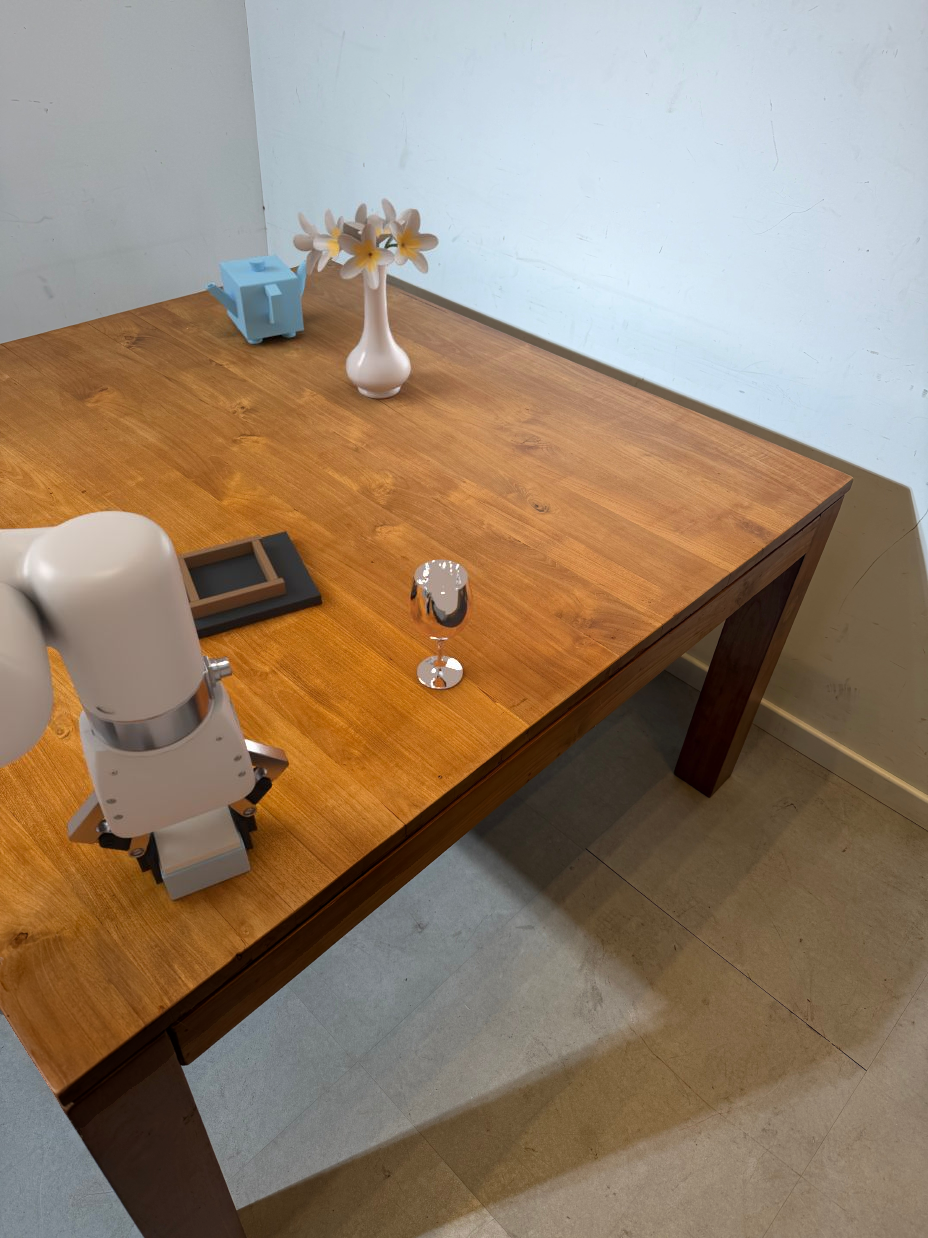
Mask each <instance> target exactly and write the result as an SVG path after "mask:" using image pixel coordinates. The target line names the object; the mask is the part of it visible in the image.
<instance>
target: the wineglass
mask: <svg viewBox="0 0 928 1238" xmlns="http://www.w3.org/2000/svg"><path fill="white" fill-rule="evenodd" d="M407 602H408V603H407V606H408V615H409V619H410V620H411V623H412V626H413V627H414V628H415V629H416V630H417V631H418V632H419V633H420V634H421V635H423V636H425V637H427V638H429V639H433V640H434V642H435V644H436V648H437V654H436V655H431V656H428V657H425V658H424V659H423V660H421V661H420V662H419V663H418V665H417V667H416V678H417V679H418V681H419V682H420V683H421V684H422V685H424V686H425V687H427V688H430V689H432V690H447V689H450V688H452V687H455V686H456V685H458V683H460V681H462V679H463V676H464V670H463V666H462V665H461V663H460V662H459V661H458V660H457V659H455V658H453V657H451V656H448V655H443V651H444V645H445V643H446V640H449V639H452V638H455V637H457V636H459V635H460V634H462V633H463V632H464V631H465V630H466V628H467V627H468V626H469V624H470V622H471V619H472V616H473V613H474V597H473V590H472V585H471V582H470V577H469V574H468V572H467V570H466V569H465V568H464V566H462V565H461V564H459V563H458V562H456V561H453V560H448V559H433V560H428V561H426V562H423V563H422V564H421V565H419V566H418V567H417V568H416V570H415V572H414V574H413V577H412V581H411V584H410V589H409V594H408V601H407Z"/></svg>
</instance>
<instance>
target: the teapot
mask: <svg viewBox="0 0 928 1238" xmlns="http://www.w3.org/2000/svg"><path fill="white" fill-rule="evenodd" d="M219 271H220V276H221V283H222V288H223V289H222V288H221V287H219V285H217V284H216V283H214V282H213V281H212V282H210V283H208V284H207V285H206V284H205V286H204V288H205V289H206V290H207V292H209V294H211V295H212V296H213V297H214V298H215V300H217V301H218V302H219V303H220V304H221V305H222V306H223V307H225V309H226V314H227V315H228V317H229V318H230V320H232V322H233V324H234V325H235V326H236V327H237V329H238V330H239V331H240V333H241V334H242V335H243V336H244V337H245V339H246V340H247V342H248V344H252V345H256V344H260V343H262V342H263V341H264V340H263V339H264V338H269V337H274V336H280V335H281V336H282V337H283V338H293V337H295V336H296V334H297V332H302V331H305V326H304V317H303V307H302V297H303V296H304V291H305V287H306V278H307V275H308V274H307V272H306V259H305V260H303V261H301V263H300V264H299V265H298V267H297V270H296V274H295V272H293V270H292V269H291V268H290V267H289V266H288V265H287V264H286V263H285V262H284V261H283V260H282V258H280V257H279V256H277V254H268V255H262V256H253V257H247V258H241V259H234V260H228V261H221V262H219Z"/></svg>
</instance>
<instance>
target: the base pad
mask: <svg viewBox="0 0 928 1238" xmlns="http://www.w3.org/2000/svg"><path fill="white" fill-rule="evenodd" d="M176 555H177V559H178V562H179V566H180V570H181V574H182V578H183V582H184V586H185V589H186V593H187V597H188V601H189V605H190V609H191V612H192V616H193V620H194V624H195V628H196V631H197V635H198V639H199V640H200V639H201V638H205V637H209V636H212V635H217V634H219V633H222V632H226V631H230V630H233V629H236V628H240V627H244V626H247V625H251V624H254V623H258V622H262V621H265V620H269V619H271V618H275V617H280V616H282V615H285V614H289V613H293V612H297V611H300V610H303V609H307V608H310V607H314V606H317V605H321V604H323V600H322V594H321V592H320V590H319V588H318V586H317V585H316V583H315V581H314V579H313V577H312V575H311V574H310V573H309V570H308V568H307V567H306V565H305V563H304V561H303V559H302V558H301V556H300V554H299V552H298V550H297V548H296V546H295V545H294V543H293V541H292V539H291V537H290V535H289V533H288V532H287V531H286V530H285V531H281V532H277V533H273V534H269V535H265V536H262V535H261V534H256V535H253V536H248V537H244V538H241V539H237V540H232V541H228V542H224V543H221V544H217V545H216V544H215V545H212V546H208V547H204V548H201V549H196V550H193V551H188V552H185V553H180V554H176Z"/></svg>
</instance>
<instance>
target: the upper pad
mask: <svg viewBox="0 0 928 1238" xmlns="http://www.w3.org/2000/svg"><path fill="white" fill-rule="evenodd" d="M152 835H153V839H154V843H155V847H156V851H157V855H158V859H159V866H160V870H161V874H162V878H163V881H164V882H163V883H164V885H165V888H166V890H167V893H168V895H169V897H170V900H171V901H175V900H177V899H180V898H183V897H187V896H189V895H191V894H193V893H195V892H198V891H201V890H204V889H207V888H209V887H212V886H214V885H216V884H219V883H221V882H224V881H226V880H229V879H232V878H234V877H237V876H240V875H242V874H245V873H247V872H250V871H251V869H252V868H251V865H250V861H249V858H248V857H249V856H248V854H247V849H245V846H244V843H243V840H242V837H241V834H240V832H239V830H238V827H237V824H236V821H235V818H234V815H233V812H232V809H231V807H230V806H229V805H226V806H224V807H221V808H218V809H216V810H213V811H210V812H207V813H205V814H202V815H199V816H196V817H194V818H191V819H188V820H185V821H182V822H180V823H177V824H174V825H171V826H168V827H165V828H162V829H160V830H157V831H154V832H152Z"/></svg>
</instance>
